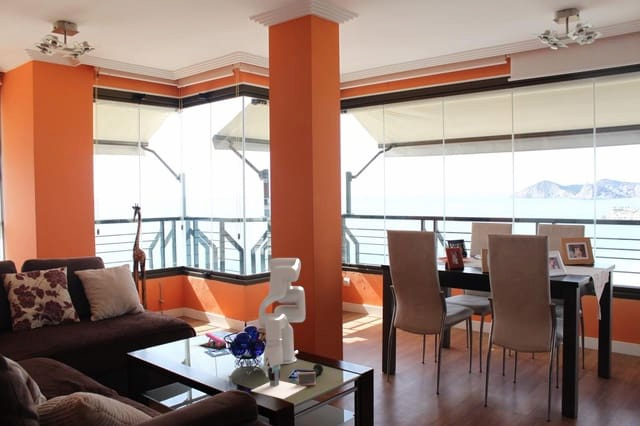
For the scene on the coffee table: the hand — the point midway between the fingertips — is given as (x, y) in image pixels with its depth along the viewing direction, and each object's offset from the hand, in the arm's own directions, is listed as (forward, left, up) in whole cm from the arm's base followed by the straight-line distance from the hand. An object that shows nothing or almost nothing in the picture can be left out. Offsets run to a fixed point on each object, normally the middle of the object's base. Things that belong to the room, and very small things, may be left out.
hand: (274, 378), depth 271 cm
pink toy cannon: (-38, -78, -4) cm, 87 cm away
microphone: (-20, +9, -4) cm, 22 cm away
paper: (+3, +5, -3) cm, 6 cm away
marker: (0, 0, -3) cm, 3 cm away
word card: (-9, +13, -3) cm, 16 cm away
